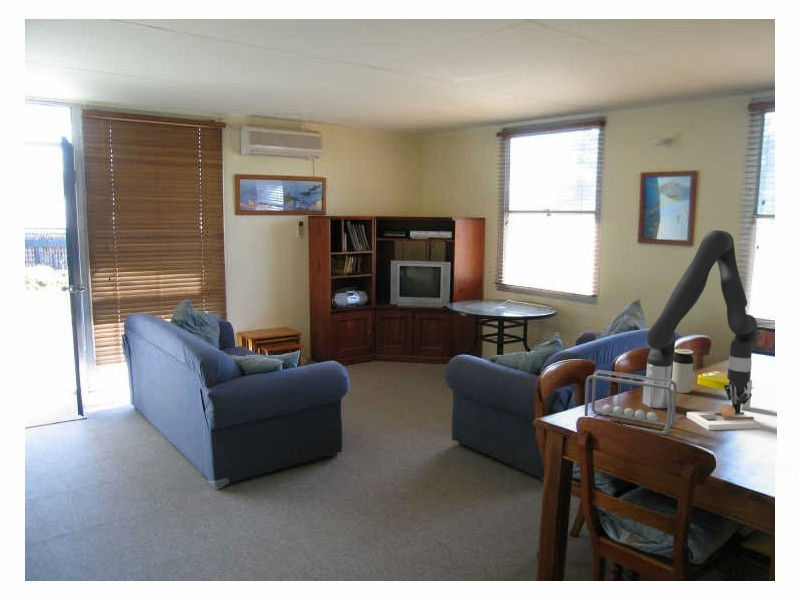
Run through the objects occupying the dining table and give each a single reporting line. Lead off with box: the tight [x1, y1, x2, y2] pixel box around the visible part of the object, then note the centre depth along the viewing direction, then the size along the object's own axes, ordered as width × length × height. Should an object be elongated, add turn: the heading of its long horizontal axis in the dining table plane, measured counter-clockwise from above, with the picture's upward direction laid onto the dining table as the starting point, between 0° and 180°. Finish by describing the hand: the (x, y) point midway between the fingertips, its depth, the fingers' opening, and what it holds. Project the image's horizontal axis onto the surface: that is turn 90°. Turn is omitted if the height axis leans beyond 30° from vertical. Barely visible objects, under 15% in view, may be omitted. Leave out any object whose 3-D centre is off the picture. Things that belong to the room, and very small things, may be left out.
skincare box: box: [729, 379, 753, 411], centre depth 245 cm, size 6×4×12 cm
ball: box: [719, 403, 735, 417], centre depth 228 cm, size 5×5×5 cm
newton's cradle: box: [584, 369, 678, 436], centre depth 226 cm, size 30×10×18 cm, turn 57°
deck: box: [686, 410, 761, 431], centre depth 228 cm, size 20×14×3 cm
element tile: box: [696, 370, 730, 392], centre depth 278 cm, size 15×15×5 cm
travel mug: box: [670, 348, 694, 394], centre depth 267 cm, size 8×8×18 cm
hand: (735, 413), depth 228 cm, fingers closed
